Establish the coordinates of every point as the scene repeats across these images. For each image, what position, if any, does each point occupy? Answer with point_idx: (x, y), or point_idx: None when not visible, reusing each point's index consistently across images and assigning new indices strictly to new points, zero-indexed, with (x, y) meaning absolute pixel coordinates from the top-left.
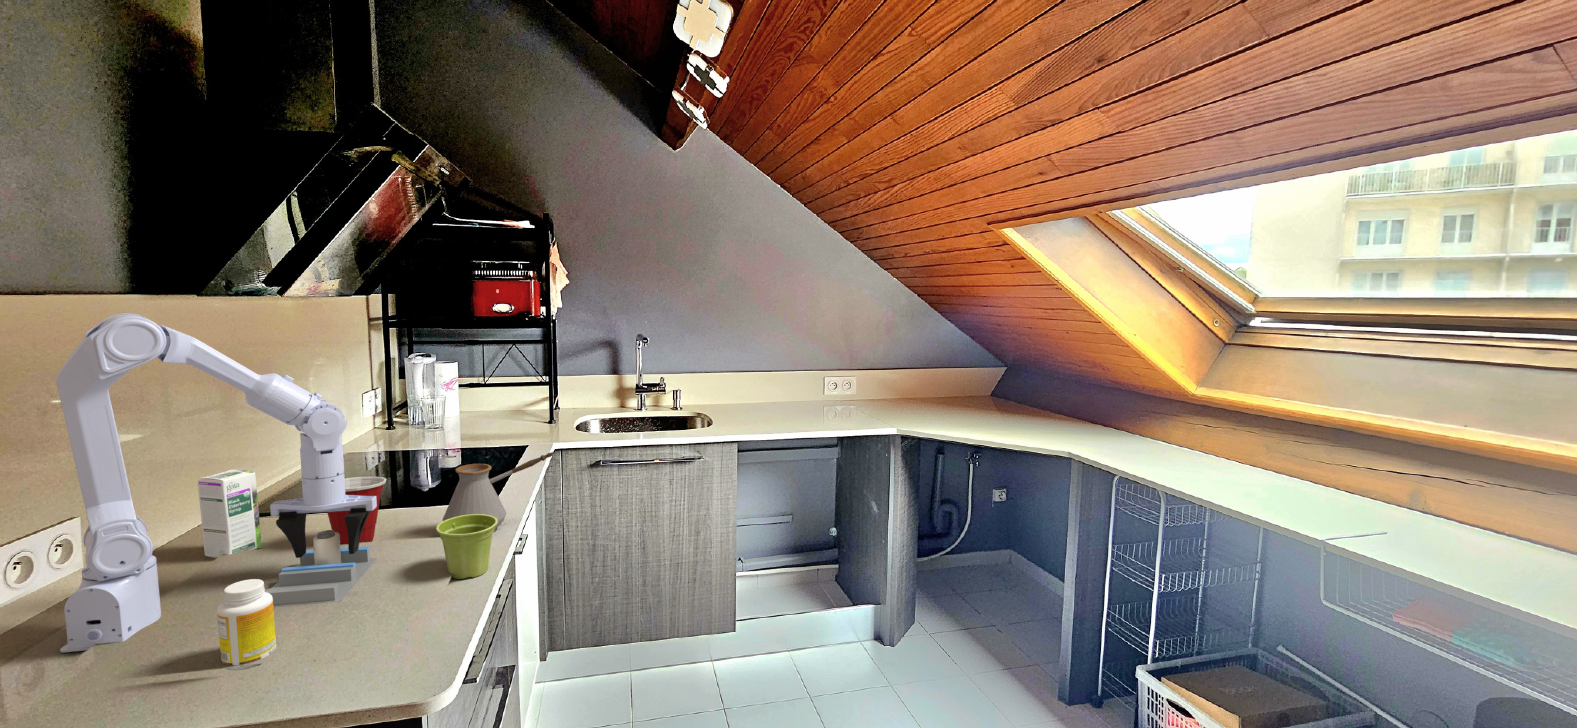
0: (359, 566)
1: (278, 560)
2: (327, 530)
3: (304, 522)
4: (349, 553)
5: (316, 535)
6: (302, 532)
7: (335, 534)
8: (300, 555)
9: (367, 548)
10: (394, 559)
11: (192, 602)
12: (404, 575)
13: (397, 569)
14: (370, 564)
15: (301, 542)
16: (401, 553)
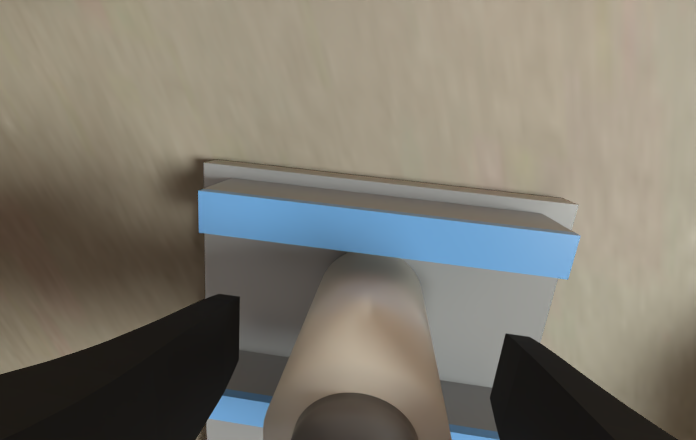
0: (499, 294)
1: (78, 6)
2: (347, 423)
3: (78, 429)
4: (491, 400)
5: (271, 402)
6: (148, 405)
7: (419, 433)
8: (234, 368)
9: (568, 265)
10: (644, 169)
11: (6, 354)
12: (682, 376)
13: (655, 303)
14: (548, 285)
15: (196, 389)
16: (686, 86)
